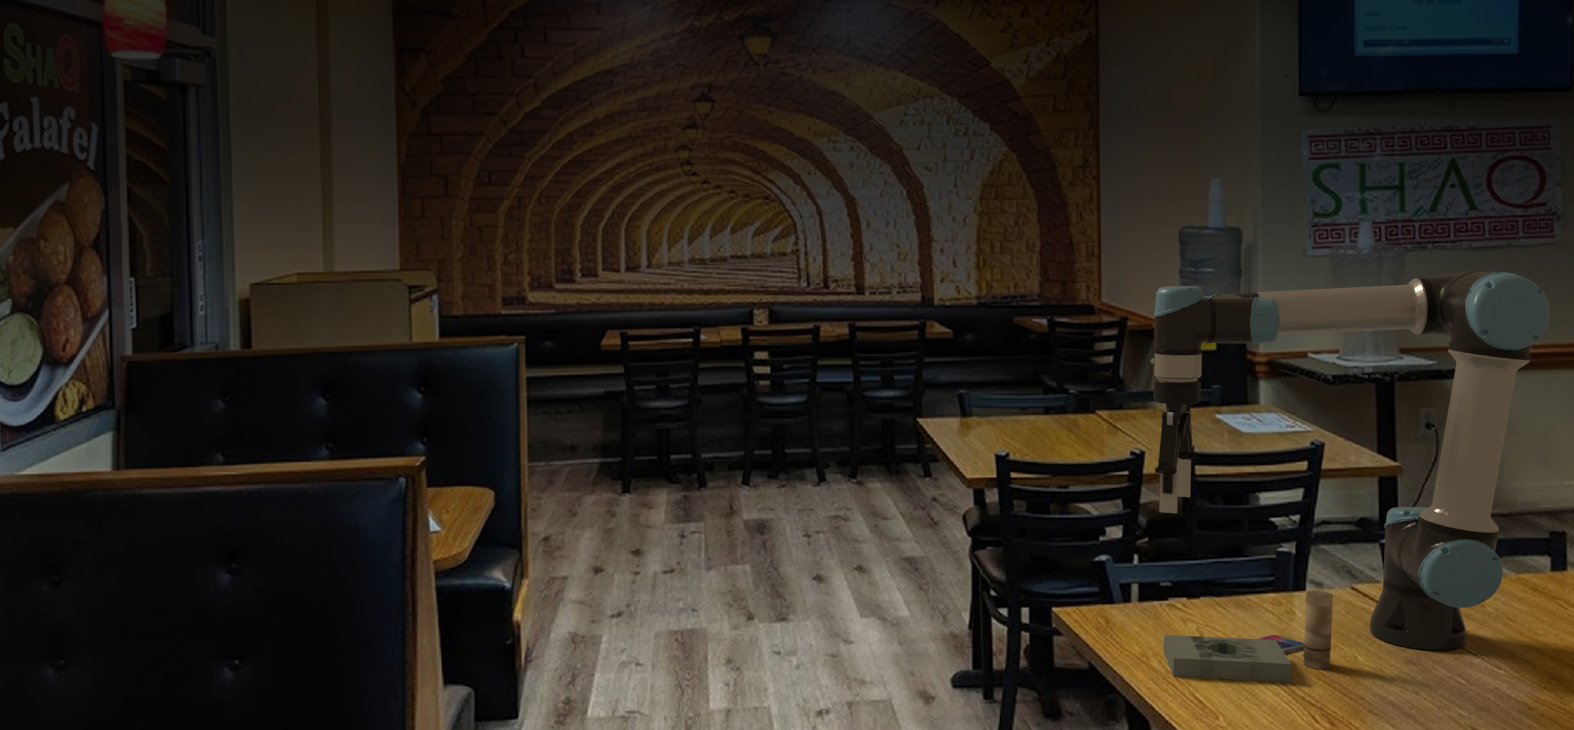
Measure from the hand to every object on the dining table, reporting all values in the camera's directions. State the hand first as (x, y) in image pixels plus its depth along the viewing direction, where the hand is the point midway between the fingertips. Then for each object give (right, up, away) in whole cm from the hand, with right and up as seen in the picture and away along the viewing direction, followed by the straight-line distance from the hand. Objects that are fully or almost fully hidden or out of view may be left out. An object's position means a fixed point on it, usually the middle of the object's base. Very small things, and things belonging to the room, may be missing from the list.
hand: (1175, 504), depth 214 cm
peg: (+22, -26, -5) cm, 34 cm away
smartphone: (+16, -26, +3) cm, 31 cm away
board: (+7, -26, -5) cm, 27 cm away
